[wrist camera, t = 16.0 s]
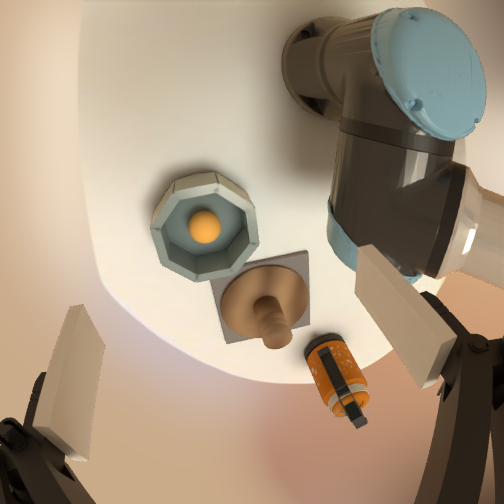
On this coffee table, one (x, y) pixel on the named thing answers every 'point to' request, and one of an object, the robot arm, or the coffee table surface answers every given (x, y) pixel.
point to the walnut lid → (265, 304)
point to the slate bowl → (218, 251)
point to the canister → (338, 378)
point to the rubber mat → (292, 261)
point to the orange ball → (204, 226)
